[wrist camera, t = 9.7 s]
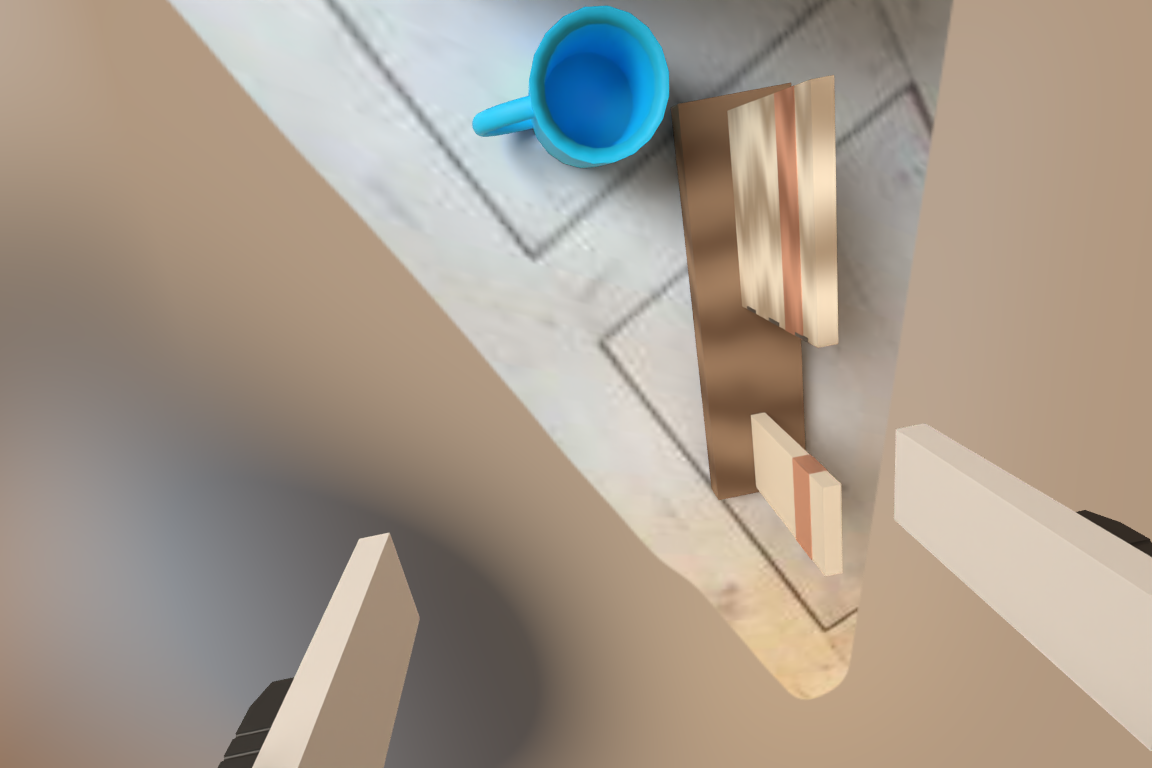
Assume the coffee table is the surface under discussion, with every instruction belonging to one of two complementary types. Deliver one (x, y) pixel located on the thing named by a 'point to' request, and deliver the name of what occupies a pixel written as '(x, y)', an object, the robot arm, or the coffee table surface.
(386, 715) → the robot arm
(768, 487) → the stub
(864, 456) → the coffee table surface
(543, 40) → the mug
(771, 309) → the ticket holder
